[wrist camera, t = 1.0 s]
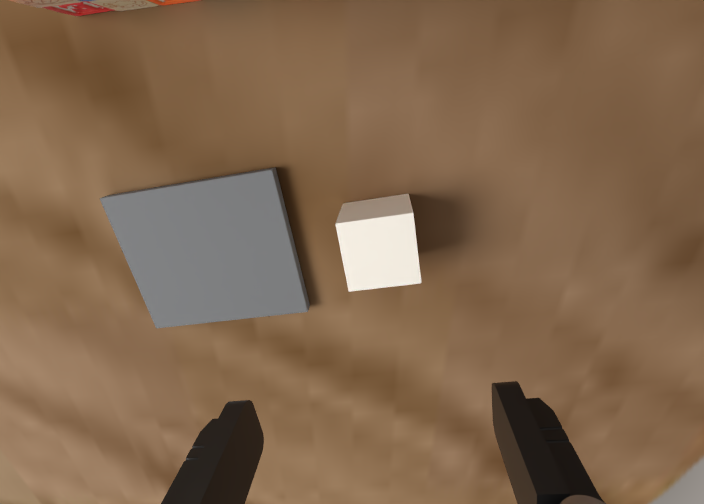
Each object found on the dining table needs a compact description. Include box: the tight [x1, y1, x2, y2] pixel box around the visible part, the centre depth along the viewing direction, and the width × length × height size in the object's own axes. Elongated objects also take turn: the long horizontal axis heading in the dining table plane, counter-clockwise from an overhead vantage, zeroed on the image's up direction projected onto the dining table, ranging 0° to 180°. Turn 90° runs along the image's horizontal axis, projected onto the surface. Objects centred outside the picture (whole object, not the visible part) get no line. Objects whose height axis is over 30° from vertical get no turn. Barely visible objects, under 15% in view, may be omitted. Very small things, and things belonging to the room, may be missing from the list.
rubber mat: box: [100, 167, 310, 328], centre depth 31 cm, size 14×12×1 cm
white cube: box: [335, 194, 421, 291], centre depth 27 cm, size 5×5×5 cm
